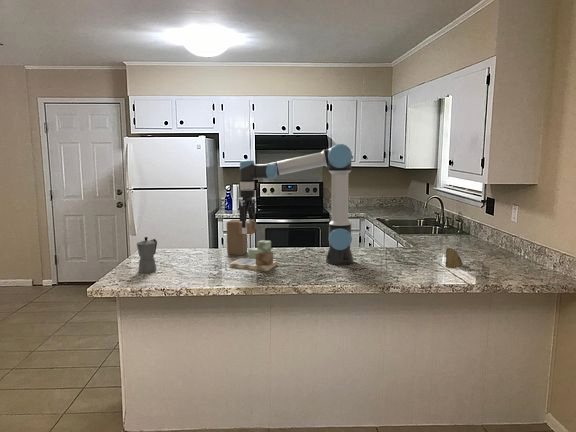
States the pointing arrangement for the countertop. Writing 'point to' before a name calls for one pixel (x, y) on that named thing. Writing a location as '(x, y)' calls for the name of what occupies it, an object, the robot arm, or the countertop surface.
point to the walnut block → (248, 227)
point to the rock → (452, 258)
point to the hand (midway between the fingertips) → (247, 232)
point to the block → (235, 239)
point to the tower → (264, 253)
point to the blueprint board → (251, 264)
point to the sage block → (252, 253)
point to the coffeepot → (147, 255)
